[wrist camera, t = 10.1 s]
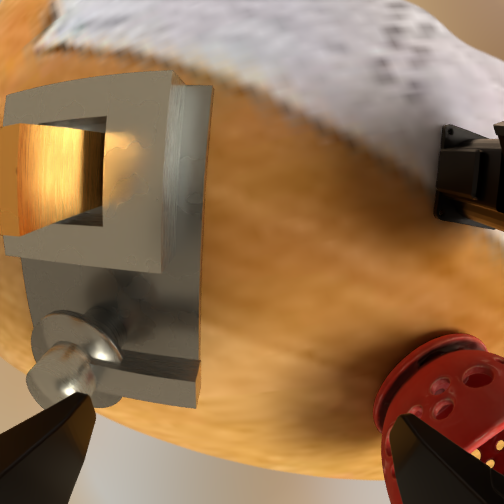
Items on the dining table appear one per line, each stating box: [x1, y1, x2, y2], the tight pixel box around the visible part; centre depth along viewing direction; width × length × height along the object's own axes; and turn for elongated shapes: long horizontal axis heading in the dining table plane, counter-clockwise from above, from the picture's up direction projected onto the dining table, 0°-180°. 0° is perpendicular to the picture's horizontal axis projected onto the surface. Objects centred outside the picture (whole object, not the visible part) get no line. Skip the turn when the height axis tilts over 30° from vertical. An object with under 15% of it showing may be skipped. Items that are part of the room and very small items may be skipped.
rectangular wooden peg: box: [0, 123, 105, 237], centre depth 13 cm, size 3×4×9 cm
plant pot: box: [373, 333, 504, 504], centre depth 17 cm, size 13×13×12 cm
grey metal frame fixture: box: [3, 70, 214, 409], centre depth 15 cm, size 15×19×8 cm
